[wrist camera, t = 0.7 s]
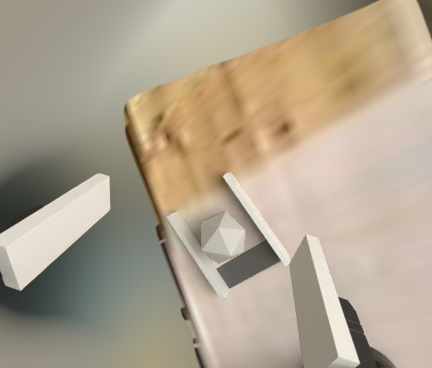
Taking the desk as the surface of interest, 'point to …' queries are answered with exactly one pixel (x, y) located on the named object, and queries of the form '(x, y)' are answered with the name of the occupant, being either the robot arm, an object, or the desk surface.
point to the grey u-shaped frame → (246, 262)
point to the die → (222, 237)
